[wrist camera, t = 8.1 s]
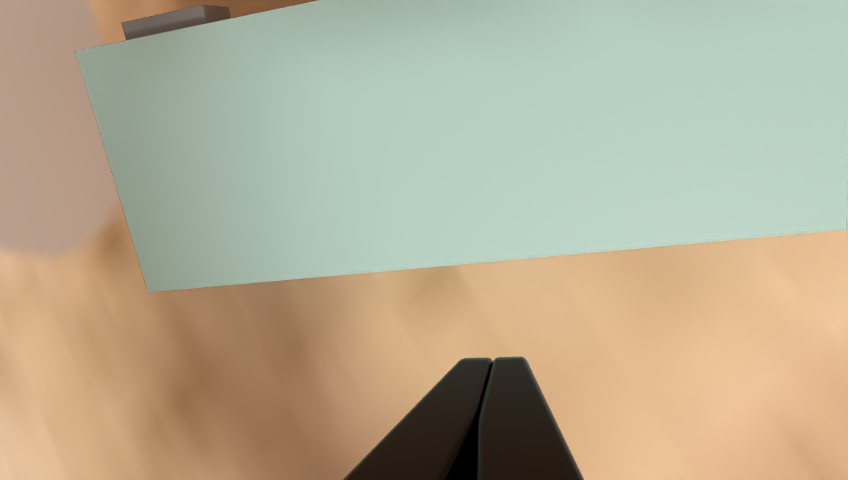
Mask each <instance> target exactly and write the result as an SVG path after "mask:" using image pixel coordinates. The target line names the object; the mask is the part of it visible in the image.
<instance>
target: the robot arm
mask: <svg viewBox="0 0 848 480" xmlns="http://www.w3.org/2000/svg"><path fill="white" fill-rule="evenodd" d="M343 480H584V479H583V476H582V474H581V472H580V470H579V468H578V466H577V464H576V462H575V460H574V458H573V456H572V454H571V452H570V449H569V447H568V445H567V443H566V441H565V439H564V437H563V435H562V433H561V431H560V429H559V427H558V425H557V422H556V420H555V418H554V416H553V414H552V412H551V410H550V408H549V406H548V404H547V402H546V400H545V397H544V395H543V393H542V391H541V389H540V387H539V385H538V383H537V381H536V379H535V377H534V375H533V373H532V370H531V368H530V366H529V364H528V362H527V360H526V359H525V358H523V357H498V358H496V359H494V361H492V359H490V358H464V359H461V360H460V361H459V362H458V363H457V364H456V365H455V366H454V367H453V368H452V369H451V370H450V371H449V372H448V373H447V374H446V375H445V376H444V377H443V378H442V379H441V380H440V381H439V382H438V383H437V384H436V385H435V386H434V387H433V388H432V389H431V390H430V391H429V392H428V393H427V394H426V395H425V396H424V397H423V398H422V400H421V401H420V402H419V403H418V404H417V405H416V406H415V407H414V408H413V409H412V410H411V411H410V412H409V413H408V414H407V415H406V416H405V417H404V418H403V419H402V420H401V421H400V422H399V423H398V424H397V425H396V426H395V427H394V428H393V429H392V430H391V431H390V432H389V433H388V434H387V435H386V436H385V437H384V438H383V439H382V440H381V441H380V442H379V443H378V445H377V446H376V447H375V448H374V449H373V450H372V451H371V452H370V453H369V454H368V455H367V456H366V457H365V458H364V459H363V460H362V461H361V462H360V463H359V464H358V465H357V466H356V467H355V468H354V469H353V470H352V471H351V472H350V473H349V474H348V475H347V476H346V477H345V478H344V479H343Z"/></svg>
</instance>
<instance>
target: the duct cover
mask: <svg viewBox="0 0 848 480" xmlns="http://www.w3.org/2000/svg"><path fill="white" fill-rule="evenodd" d="M122 27H123V30H124V34H125V38H126V41H121V42H116V43H111V44H107V45H102V46H97V47H92V48H88V49H83V50H78V51H75V53H76V57H77V60H78V63H79V67H80V70H81V73H82V76H83V80H84V83H85V86H86V90H87V93H88V96H89V99H90V103H91V106H92V109H93V112H94V116H95V119H96V123H97V126H98V129H99V133H100V136H101V139H102V143H103V146H104V149H105V152H106V155H107V159H108V162H109V166H110V169H111V172H112V176H113V179H114V182H115V185H116V189H117V192H118V195H119V199H120V202H121V205H122V209H123V212H124V215H125V218H126V222H127V225H128V228H129V232H130V235H131V238H132V242H133V245H134V248H135V251H136V255H137V258H138V261H139V265H140V268H141V271H142V275H143V278H144V281H145V284H146V288H147V291H148V292H159V291H170V290H181V289H193V288H204V287H215V286H226V285H237V284H248V283H259V282H270V281H281V280H293V279H304V278H315V277H326V276H337V275H348V274H359V273H370V272H381V271H393V270H404V269H415V268H426V267H437V266H448V265H459V264H470V263H481V262H493V261H504V260H515V259H526V258H537V257H548V256H559V255H570V254H581V253H593V252H604V251H615V250H626V249H637V248H648V247H659V246H670V245H681V244H693V243H704V242H715V241H726V240H737V239H748V238H759V237H770V236H781V235H793V234H804V233H815V232H826V231H837V230H847V175H848V0H317V1H312V2H308V3H303V4H298V5H293V6H288V7H284V8H279V9H274V10H269V11H265V12H260V13H255V14H250V15H245V16H241V17H236V18H231V17H230V13H229V9H228V7H220V6H208V5H200V6H196V7H191V8H187V9H182V10H178V11H173V12H168V13H164V14H159V15H155V16H150V17H145V18H141V19H136V20H132V21H127V22H122Z"/></svg>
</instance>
